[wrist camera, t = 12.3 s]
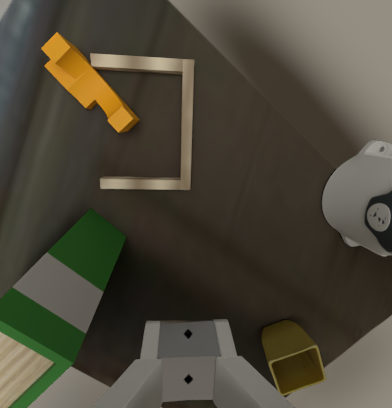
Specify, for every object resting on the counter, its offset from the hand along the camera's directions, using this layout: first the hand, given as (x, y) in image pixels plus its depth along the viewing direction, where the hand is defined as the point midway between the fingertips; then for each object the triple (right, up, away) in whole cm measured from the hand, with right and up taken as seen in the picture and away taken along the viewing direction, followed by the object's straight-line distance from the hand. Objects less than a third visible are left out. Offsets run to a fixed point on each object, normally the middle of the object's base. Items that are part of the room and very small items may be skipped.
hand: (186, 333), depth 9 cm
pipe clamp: (-14, +20, +27) cm, 36 cm away
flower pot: (+17, -21, +43) cm, 50 cm away
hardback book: (-20, -4, +34) cm, 40 cm away
